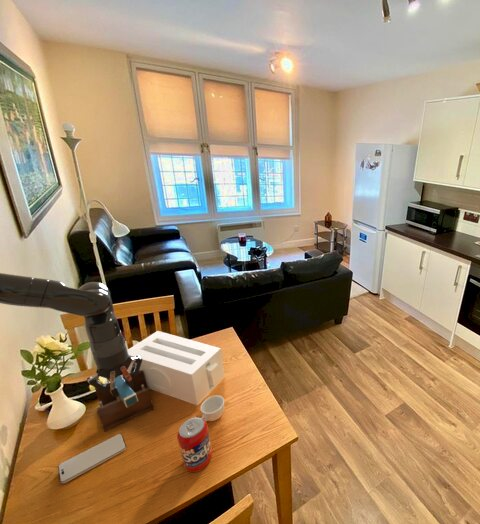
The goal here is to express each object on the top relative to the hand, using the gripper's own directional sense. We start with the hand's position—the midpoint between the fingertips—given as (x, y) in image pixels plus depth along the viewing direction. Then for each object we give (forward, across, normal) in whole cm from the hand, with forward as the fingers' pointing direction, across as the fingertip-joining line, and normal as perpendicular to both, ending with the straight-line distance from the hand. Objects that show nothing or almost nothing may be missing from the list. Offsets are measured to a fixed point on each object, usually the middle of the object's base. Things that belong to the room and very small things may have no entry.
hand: (123, 392), depth 90 cm
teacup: (+18, -18, +15) cm, 29 cm away
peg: (0, 0, 0) cm, 0 cm away
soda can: (+18, -8, +26) cm, 32 cm away
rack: (+17, -2, -12) cm, 21 cm away
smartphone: (+17, +11, +1) cm, 21 cm away
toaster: (+18, -20, -10) cm, 29 cm away
